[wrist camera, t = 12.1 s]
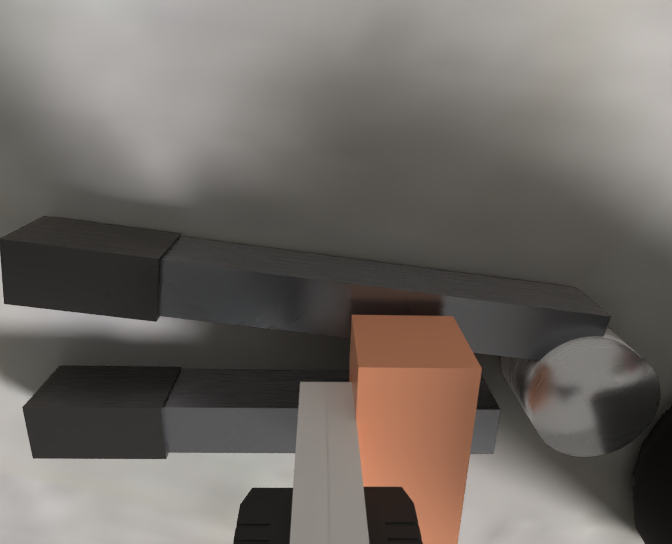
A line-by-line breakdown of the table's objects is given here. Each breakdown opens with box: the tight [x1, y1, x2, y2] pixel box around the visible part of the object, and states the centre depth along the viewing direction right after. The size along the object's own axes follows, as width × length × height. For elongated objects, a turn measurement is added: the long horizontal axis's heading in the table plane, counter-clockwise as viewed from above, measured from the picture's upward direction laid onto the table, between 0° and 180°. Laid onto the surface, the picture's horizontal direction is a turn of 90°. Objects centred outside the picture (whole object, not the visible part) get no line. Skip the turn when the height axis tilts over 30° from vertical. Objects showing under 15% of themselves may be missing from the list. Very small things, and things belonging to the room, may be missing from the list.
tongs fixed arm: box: [22, 366, 500, 459], centre depth 19 cm, size 16×2×3 cm, turn 88°
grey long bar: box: [0, 216, 660, 457], centre depth 17 cm, size 20×5×3 cm, turn 82°
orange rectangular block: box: [349, 315, 482, 544], centre depth 15 cm, size 3×6×3 cm, turn 178°
